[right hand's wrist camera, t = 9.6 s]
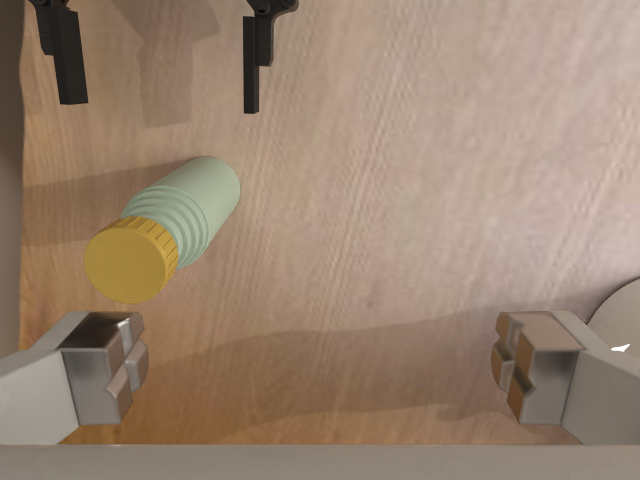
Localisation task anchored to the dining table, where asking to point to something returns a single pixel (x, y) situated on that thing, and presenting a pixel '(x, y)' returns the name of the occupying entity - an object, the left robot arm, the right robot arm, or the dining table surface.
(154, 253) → the cap
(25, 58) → the dining table surface
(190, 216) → the bottle
